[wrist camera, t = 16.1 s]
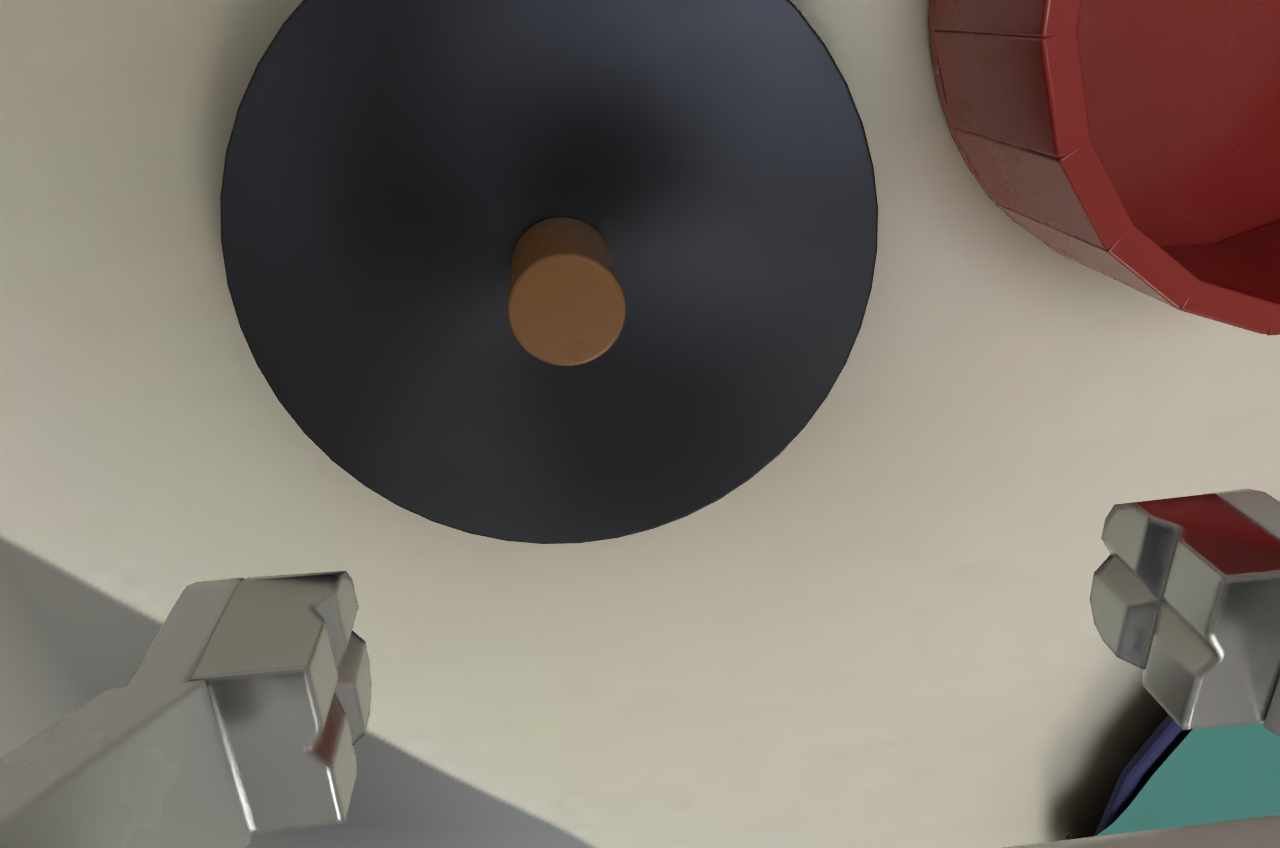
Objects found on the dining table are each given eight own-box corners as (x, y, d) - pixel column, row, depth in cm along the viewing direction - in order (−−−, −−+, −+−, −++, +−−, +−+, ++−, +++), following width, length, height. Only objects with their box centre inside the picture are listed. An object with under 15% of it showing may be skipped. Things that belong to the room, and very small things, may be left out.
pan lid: (299, 544, 25) (253, 651, 21) (161, -94, 19) (55, -122, 15) (843, 502, 26) (901, 594, 22) (889, -109, 20) (982, -139, 16)
